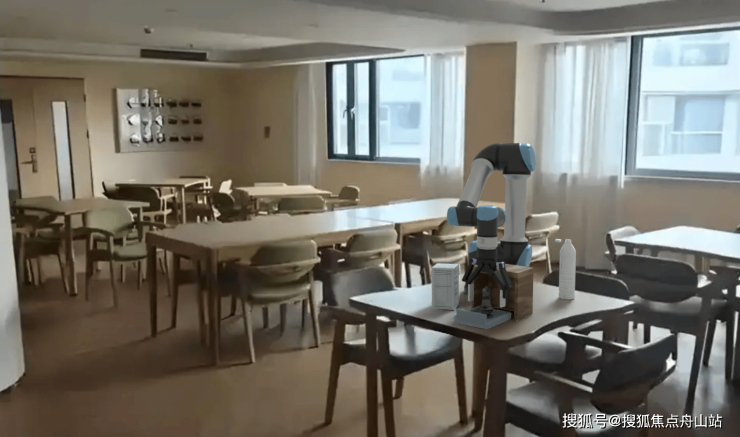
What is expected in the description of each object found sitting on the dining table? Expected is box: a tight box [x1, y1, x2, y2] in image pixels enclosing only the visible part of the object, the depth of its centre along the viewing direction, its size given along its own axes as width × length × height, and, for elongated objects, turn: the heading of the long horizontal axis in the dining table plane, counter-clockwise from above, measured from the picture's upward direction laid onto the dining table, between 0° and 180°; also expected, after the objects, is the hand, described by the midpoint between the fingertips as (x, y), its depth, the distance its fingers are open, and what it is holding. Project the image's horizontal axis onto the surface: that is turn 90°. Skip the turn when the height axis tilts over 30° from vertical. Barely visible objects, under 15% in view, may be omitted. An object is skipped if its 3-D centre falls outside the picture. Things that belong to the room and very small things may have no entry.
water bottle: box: [554, 238, 577, 301], centre depth 274 cm, size 9×6×25 cm
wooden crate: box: [470, 264, 535, 321], centre depth 253 cm, size 20×12×18 cm, turn 49°
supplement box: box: [431, 262, 460, 311], centre depth 263 cm, size 10×9×17 cm
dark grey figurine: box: [478, 285, 495, 318], centre depth 245 cm, size 6×6×12 cm
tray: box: [453, 306, 512, 330], centre depth 243 cm, size 14×17×5 cm
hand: (486, 303), depth 245 cm, fingers open, 13 cm apart
